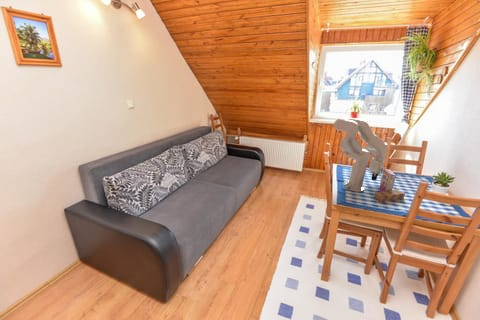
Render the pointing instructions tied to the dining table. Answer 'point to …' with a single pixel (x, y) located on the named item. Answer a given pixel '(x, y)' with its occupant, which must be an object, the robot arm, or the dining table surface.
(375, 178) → the robot arm
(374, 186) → the dining table surface
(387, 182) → the candy bar box
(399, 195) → the brown lumpy bar
